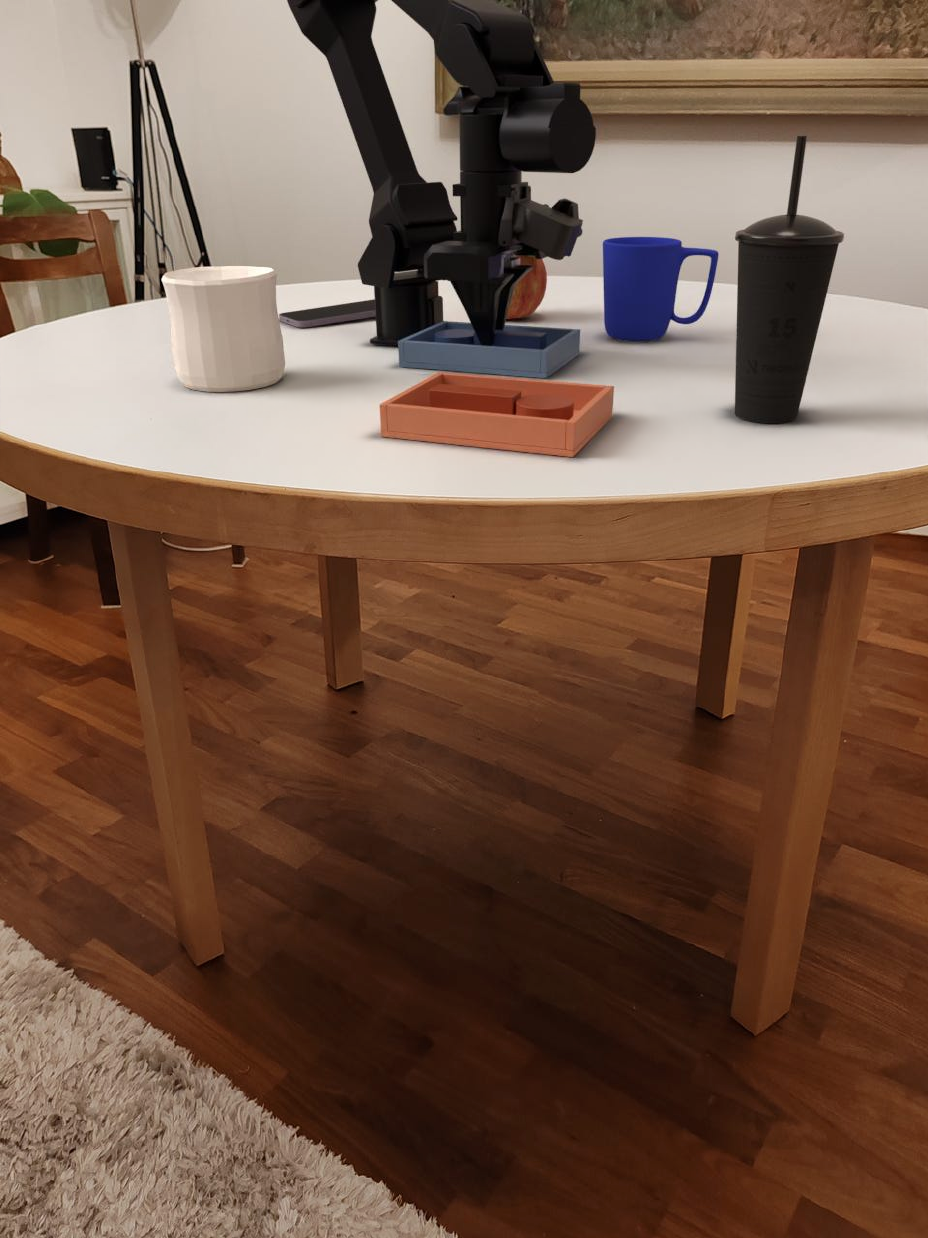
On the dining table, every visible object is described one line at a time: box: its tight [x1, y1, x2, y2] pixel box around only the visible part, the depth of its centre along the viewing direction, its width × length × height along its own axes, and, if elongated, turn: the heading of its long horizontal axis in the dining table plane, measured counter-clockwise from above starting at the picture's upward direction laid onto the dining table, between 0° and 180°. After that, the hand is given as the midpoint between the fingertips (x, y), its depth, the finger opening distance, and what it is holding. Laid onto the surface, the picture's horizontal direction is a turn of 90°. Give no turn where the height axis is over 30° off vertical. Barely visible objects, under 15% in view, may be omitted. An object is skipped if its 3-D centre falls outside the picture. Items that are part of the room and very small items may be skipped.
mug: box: [602, 236, 719, 343], centre depth 102 cm, size 8×12×10 cm
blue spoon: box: [435, 329, 547, 350], centre depth 95 cm, size 11×4×2 cm, turn 68°
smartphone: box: [278, 298, 376, 328], centre depth 118 cm, size 7×1×15 cm
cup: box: [160, 265, 286, 393], centre depth 87 cm, size 10×10×10 cm
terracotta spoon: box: [429, 384, 574, 421], centre depth 74 cm, size 11×4×2 cm, turn 68°
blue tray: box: [397, 320, 581, 379], centre depth 95 cm, size 15×11×2 cm
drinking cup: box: [734, 135, 845, 424], centre depth 72 cm, size 8×8×20 cm
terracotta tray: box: [379, 371, 615, 458], centre depth 74 cm, size 15×11×2 cm
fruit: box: [506, 255, 548, 320], centre depth 114 cm, size 9×10×10 cm
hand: (490, 343), depth 95 cm, fingers closed on blue spoon, 2 cm apart
